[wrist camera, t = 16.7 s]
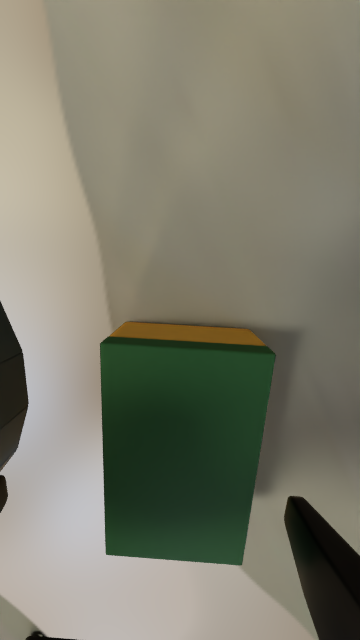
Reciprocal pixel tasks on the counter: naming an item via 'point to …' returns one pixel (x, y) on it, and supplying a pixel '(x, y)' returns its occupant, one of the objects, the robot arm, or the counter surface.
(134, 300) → the counter surface
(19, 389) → the bowl
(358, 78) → the counter surface
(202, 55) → the counter surface
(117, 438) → the sponge
